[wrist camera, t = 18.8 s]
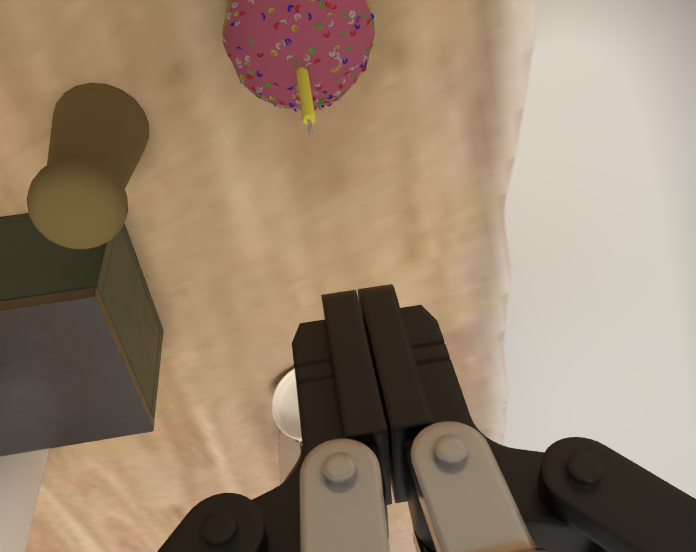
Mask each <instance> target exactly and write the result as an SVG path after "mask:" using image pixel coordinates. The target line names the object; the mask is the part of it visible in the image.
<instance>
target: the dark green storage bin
mask: <svg viewBox="0 0 696 552" xmlns="http://www.w3.org/2000/svg"><path fill="white" fill-rule="evenodd" d="M91 287H97V288H98V291H99V293H100V295H101V298H102V300H103V302H104V305H105V307H106V309H107V312H108V314H109V316H110V319H111V321H112V323H113V326H114V328H115V330H116V333H117V335H118V337H119V340H120V342H121V344H122V347H123V349H124V351H125V353H126V356H127V358H128V360H129V363H130V365H131V367H132V370H133V372H134V374H135V377H136V379H137V381H138V384H139V386H140V388H141V391H142V393H143V395H144V398H145V400H146V402H147V405H148V407H149V409H150V412H151V414H152V416H153V419H154V418H155V409H156V399H157V389H158V379H159V369H160V359H161V349H162V340H163V329H162V326H161V323H160V320H159V318H158V315H157V312H156V309H155V307H154V304H153V301H152V298H151V296H150V293H149V290H148V288H147V285H146V282H145V279H144V277H143V274H142V271H141V268H140V266H139V263H138V260H137V257H136V255H135V252H134V249H133V246H132V244H131V241H130V238H129V235H128V233H127V230H126V227H125V224H124V225H123V227H122V228H121V230H120V231H119V232H118V233H117V234H116V235H115V237H114V238H113V239H112V240H110V241H108V242H106V243H104V244H103V245H101V246H98V247H94V248H89V249H71V248H67V247H64V246H60V245H58V244H56V243H54V242H52V241H50V240H48V239H47V238H46V237H45V236H44V235H43V234H42V233H41V232H40V231H39V230H38V229H37V228H36V227H35V225H34V223H33V221H32V220H31V218H30V216H29V214H22V215H15V216H8V217H1V218H0V301H5V300H12V299H18V298H25V297H31V296H38V295H45V294H51V293H58V292H64V291H71V290H78V289H84V288H91Z"/></svg>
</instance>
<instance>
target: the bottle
mask: <svg viewBox="0 0 696 552" xmlns="http://www.w3.org/2000/svg"><path fill="white" fill-rule="evenodd" d="M49 449H50V448H49ZM49 449H43V450H37V451H31V452H25V453H19V454H13V455H7V456H1V457H0V552H25V549H26V544H27V540H28V536H29V532H30V528H31V524H32V520H33V515H34V511H35V507H36V503H37V499H38V495H39V490H40V486H41V482H42V478H43V474H44V470H45V465H46V461H47V457H48V453H49Z"/></svg>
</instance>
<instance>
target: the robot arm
mask: <svg viewBox="0 0 696 552" xmlns="http://www.w3.org/2000/svg"><path fill="white" fill-rule="evenodd" d="M358 300H359V301H358ZM322 303H323V310H324V318H325V320H319V321H313V322H306V323H300V325H299V327H298V330H297V332H296V334H295V337H294V339H293V342H292V349H293V359H294V367H295V378H296V387H297V397H298V407H299V416H300V426H301V436H302V456H301V459H300V462H299V464H298V466H297V468H296V470H295V471H294V472H293V474H292V475H291V476H290V477H289V478H288V479H287V480H286V481H285V482H284V483H282V484H281V485H280V486H278V487H276V488H274V489H273V490H271V491H269V492H267V493H265V494H263V495H261V496H259V497H257V498H255V499H253V500H250V499H249V498H247V497H245V496H243V495H240V494H235V493H222V494H217V495H213V496H211V497H208V498H206V499H204V500H203V501H201V502H199V503H198V504H197V505H196V506H195V507H193V508H192V509H191V511H190V512H189V513H188V514H187V515H186V516H185V518H184V519H183V520H182V521H181V523H180V524H179V525H178V526H177V528H176V529H175V530H174V531H173V533H172V534H171V535H170V536H169V538H168V539H167V540H166V542H165V543H164V544H163V545H162V547H161V548H160V549H159V550H158V552H390V548H389V529H388V514H387V505H389V504H392V497H391V485H392V490H393V495H394V499H395V503H400V502H405V501H408V506H409V510H410V514H411V519H412V523H413V540H414V544H415V548H416V551H417V552H696V499H695V498H693V497H691V496H690V495H688V494H686V493H684V492H683V491H681V490H679V489H678V488H676V487H674V486H672V485H671V484H669V483H668V482H666V481H664V480H662V479H661V478H659V477H657V476H656V475H654V474H652V473H651V472H649V471H647V470H646V469H644V468H642V467H641V466H639V465H637V464H636V463H634V462H632V461H630V460H628V459H627V458H625V457H624V456H622V455H620V454H618V453H617V452H615V451H613V450H612V449H610V448H608V447H607V446H605V445H603V444H601V443H599V442H597V441H594V440H591V439H587V438H581V437H569V438H564V439H561V440H559V441H556V442H555V443H553V444H552V445H551V446H550V447H548V449H547V450H546V452H545V453H544V452H537V451H528V450H521V449H514V448H509V447H506V446H503V445H500V444H498V443H496V442H493V441H492V440H490V439H489V438H487V437H486V436H485V435H483V434H482V433H481V432H480V431H479V430H478V429H477V427H476V426H475V424H474V423H473V421H472V419H471V416H470V414H469V411H468V408H467V405H466V402H465V399H464V396H463V394H462V391H461V388H460V385H459V382H458V379H457V376H456V373H455V371H454V368H453V365H452V362H451V360H450V357H449V353H448V350H447V348H446V345H445V344H444V339H443V336H442V333H441V330H440V328H439V325H438V322H437V320H436V319H435V318H434V317H433V316H432V315H431V314H430V313H429V312H428V311H427V310H426V309H425V308H424V307H423V306H422V305H417V306H410V307H404V308H400V306H399V303H398V299H397V296H396V293H395V289H394V286H393V285H392V284H390V285H383V286H376V287H370V288H363V289H358V297H357V293H356V290H351V291H344V292H337V293H331V294H324V295H322Z"/></svg>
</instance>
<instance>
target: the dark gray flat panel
mask: <svg viewBox="0 0 696 552" xmlns="http://www.w3.org/2000/svg"><path fill="white" fill-rule="evenodd" d="M153 430H154V419H153V416H152V414H151V412H150V409H149V407H148V405H147V402H146V400H145V398H144V395H143V393H142V391H141V388H140V386H139V384H138V381H137V379H136V377H135V374H134V372H133V370H132V367H131V365H130V363H129V360H128V358H127V356H126V353H125V351H124V349H123V347H122V344H121V342H120V340H119V337H118V335H117V333H116V330H115V328H114V326H113V323H112V321H111V319H110V316H109V314H108V312H107V309H106V307H105V305H104V302H103V300H102V298H101V295H100V293H99V291H98V288H97V287H91V288H84V289H78V290H71V291H64V292H58V293H51V294H45V295H38V296H31V297H25V298H18V299H12V300H5V301H0V457H1V456H7V455H13V454H19V453H25V452H31V451H37V450H43V449H49V448H55V447H61V446H67V445H73V444H79V443H85V442H91V441H97V440H103V439H109V438H115V437H121V436H127V435H133V434H139V433H145V432H152V431H153Z"/></svg>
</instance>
